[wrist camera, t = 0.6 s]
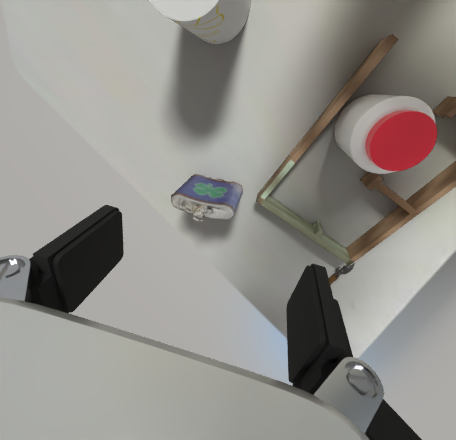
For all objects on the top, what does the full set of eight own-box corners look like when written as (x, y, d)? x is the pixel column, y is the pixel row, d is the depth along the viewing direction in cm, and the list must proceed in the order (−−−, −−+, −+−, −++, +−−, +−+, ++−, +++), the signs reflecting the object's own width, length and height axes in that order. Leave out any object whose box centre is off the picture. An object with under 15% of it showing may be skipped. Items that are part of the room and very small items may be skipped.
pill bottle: (328, 110, 31) (349, 119, 22) (394, 82, 29) (451, 79, 19) (340, 163, 34) (364, 192, 25) (402, 143, 32) (454, 166, 22)
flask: (244, 183, 38) (233, 213, 29) (241, 199, 40) (229, 232, 31) (190, 171, 39) (163, 197, 30) (189, 187, 41) (163, 216, 32)
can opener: (319, 290, 47) (320, 294, 46) (311, 284, 46) (311, 288, 45) (357, 264, 42) (359, 268, 41) (348, 257, 42) (349, 261, 41)
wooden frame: (381, 39, 27) (393, 34, 24) (494, 137, 29) (515, 142, 27) (257, 194, 39) (256, 201, 36) (345, 254, 41) (349, 265, 39)
